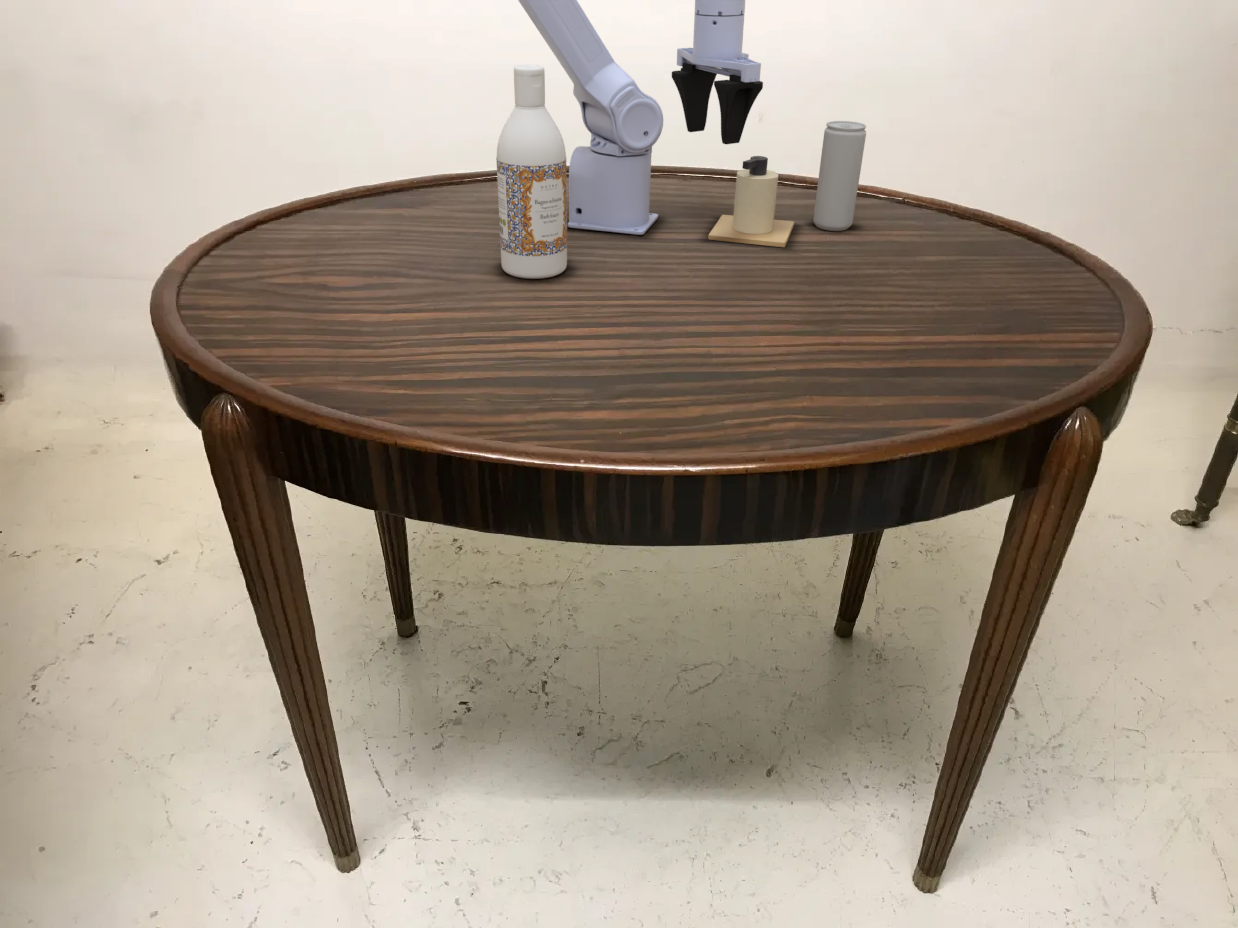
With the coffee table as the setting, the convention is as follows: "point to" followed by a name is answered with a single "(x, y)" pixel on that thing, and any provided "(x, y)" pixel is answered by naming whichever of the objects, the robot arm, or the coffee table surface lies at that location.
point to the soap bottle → (755, 197)
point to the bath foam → (532, 183)
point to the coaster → (773, 238)
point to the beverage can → (839, 175)
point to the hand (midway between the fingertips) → (712, 137)
